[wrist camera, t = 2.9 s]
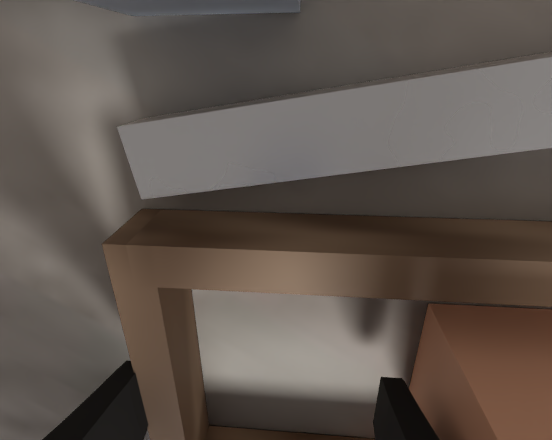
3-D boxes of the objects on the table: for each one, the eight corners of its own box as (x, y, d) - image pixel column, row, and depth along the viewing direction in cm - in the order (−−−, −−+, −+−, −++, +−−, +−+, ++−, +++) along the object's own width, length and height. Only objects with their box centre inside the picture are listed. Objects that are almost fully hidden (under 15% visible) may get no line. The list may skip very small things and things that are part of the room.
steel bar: (168, 177, 10) (140, 199, 8) (149, 116, 9) (116, 127, 8) (622, 117, 8) (697, 129, 7) (641, 35, 8) (731, 27, 6)
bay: (184, 441, 15) (165, 500, 13) (142, 208, 10) (101, 243, 8) (538, 471, 14) (577, 541, 12) (670, 225, 9) (772, 270, 7)
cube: (403, 409, 13) (456, 597, 8) (428, 303, 11) (517, 477, 6) (543, 419, 12) (678, 622, 8) (597, 311, 10) (821, 502, 6)
